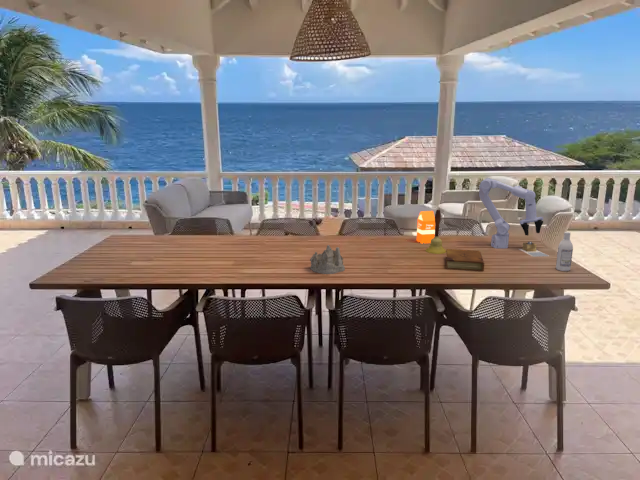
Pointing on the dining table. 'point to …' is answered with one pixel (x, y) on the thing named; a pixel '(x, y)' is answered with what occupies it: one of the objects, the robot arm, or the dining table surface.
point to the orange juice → (425, 227)
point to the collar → (529, 247)
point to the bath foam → (564, 253)
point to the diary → (464, 260)
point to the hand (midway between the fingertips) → (532, 234)
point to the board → (534, 253)
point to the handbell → (436, 238)
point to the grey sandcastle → (327, 261)
